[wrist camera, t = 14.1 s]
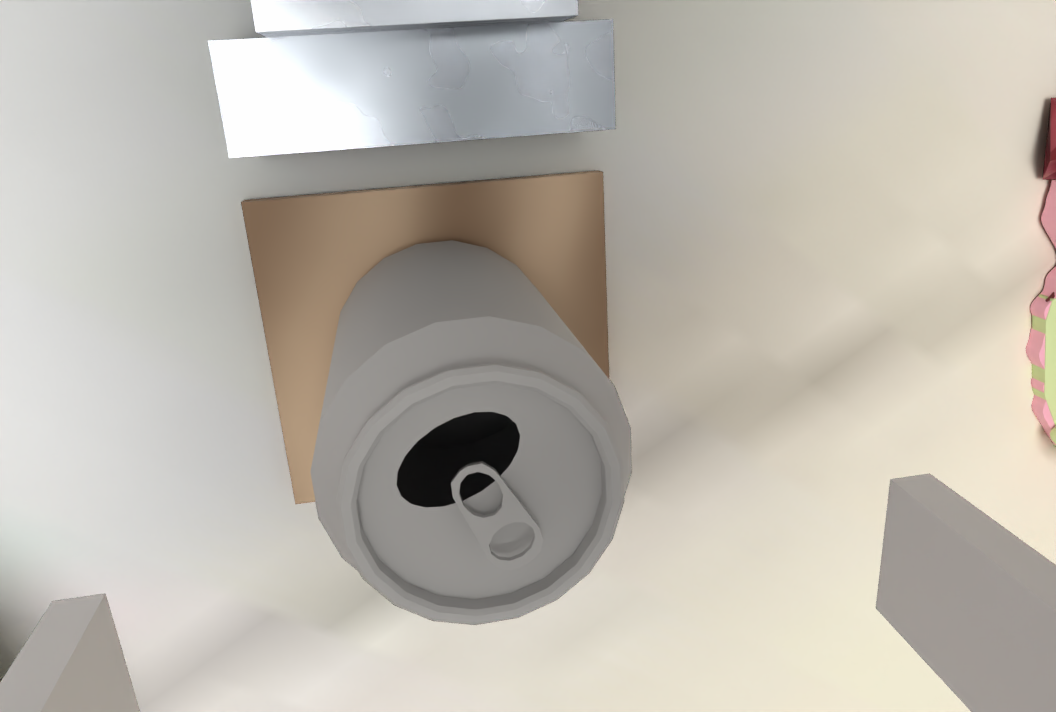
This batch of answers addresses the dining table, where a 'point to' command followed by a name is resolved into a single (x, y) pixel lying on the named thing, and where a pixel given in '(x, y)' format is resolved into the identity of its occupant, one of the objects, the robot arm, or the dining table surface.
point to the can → (466, 439)
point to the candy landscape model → (1046, 306)
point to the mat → (391, 226)
